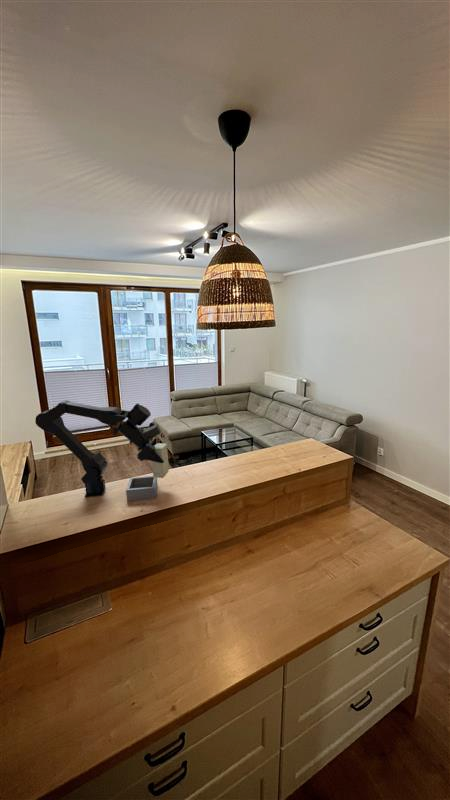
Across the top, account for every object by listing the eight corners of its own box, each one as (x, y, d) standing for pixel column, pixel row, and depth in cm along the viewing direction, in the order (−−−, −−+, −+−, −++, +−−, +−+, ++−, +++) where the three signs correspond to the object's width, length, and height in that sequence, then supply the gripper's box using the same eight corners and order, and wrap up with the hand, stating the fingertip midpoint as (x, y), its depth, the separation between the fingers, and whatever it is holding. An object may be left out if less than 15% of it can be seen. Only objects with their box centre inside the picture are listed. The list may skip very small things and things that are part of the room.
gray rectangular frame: (127, 501, 120) (125, 490, 119) (131, 488, 131) (130, 477, 130) (155, 498, 122) (154, 487, 121) (157, 485, 132) (156, 475, 131)
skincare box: (163, 478, 125) (161, 449, 122) (152, 477, 125) (150, 448, 122) (169, 471, 131) (167, 443, 128) (158, 470, 131) (157, 442, 128)
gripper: (144, 425, 113) (177, 453, 117) (149, 412, 131) (177, 436, 135) (123, 447, 114) (156, 474, 118) (131, 431, 132) (159, 455, 136)
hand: (163, 458), depth 126 cm, fingers closed on skincare box, 7 cm apart
